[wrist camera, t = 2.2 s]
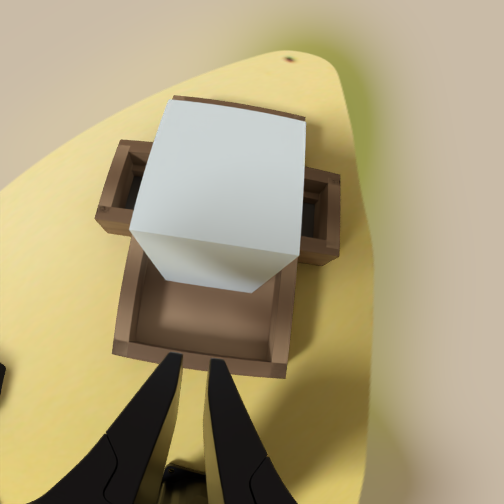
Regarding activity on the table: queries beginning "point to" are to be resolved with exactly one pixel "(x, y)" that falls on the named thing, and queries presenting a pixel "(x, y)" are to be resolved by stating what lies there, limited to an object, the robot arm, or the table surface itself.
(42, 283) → the table surface
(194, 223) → the block
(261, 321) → the brown compartment tray
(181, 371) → the robot arm
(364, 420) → the table surface
